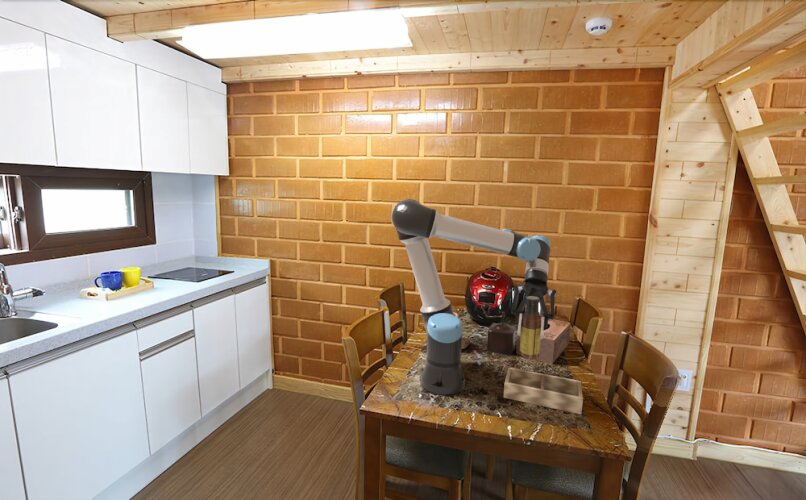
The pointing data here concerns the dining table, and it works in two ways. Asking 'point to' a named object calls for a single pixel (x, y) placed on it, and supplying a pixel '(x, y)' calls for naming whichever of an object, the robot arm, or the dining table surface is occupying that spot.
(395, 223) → the robot arm
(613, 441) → the dining table surface
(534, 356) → the sauce bottle
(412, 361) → the dining table surface
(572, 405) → the birch caddy
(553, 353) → the tissue box cover
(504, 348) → the manual coffee grinder
